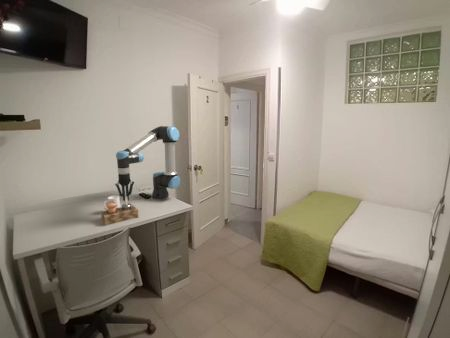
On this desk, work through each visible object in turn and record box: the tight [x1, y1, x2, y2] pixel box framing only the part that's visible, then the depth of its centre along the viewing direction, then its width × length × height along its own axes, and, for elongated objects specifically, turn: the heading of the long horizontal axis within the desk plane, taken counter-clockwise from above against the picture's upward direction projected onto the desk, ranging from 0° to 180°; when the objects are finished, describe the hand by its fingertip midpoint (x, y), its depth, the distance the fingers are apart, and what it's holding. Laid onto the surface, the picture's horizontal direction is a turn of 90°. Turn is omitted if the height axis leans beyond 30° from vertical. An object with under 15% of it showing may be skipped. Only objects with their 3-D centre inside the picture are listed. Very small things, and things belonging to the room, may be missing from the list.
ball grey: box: [121, 202, 132, 211], centre depth 169 cm, size 6×6×8 cm
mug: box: [102, 195, 121, 210], centre depth 176 cm, size 12×8×12 cm
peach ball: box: [105, 202, 117, 214], centre depth 162 cm, size 6×6×8 cm
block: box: [100, 204, 139, 226], centre depth 166 cm, size 22×12×6 cm, turn 129°
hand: (126, 204), depth 168 cm, fingers closed
